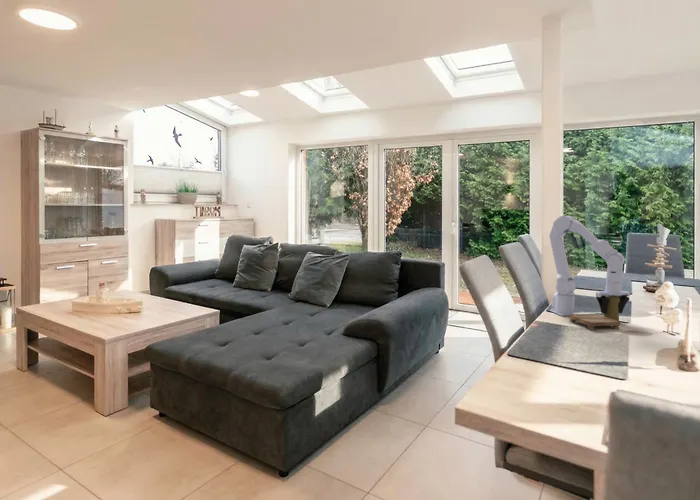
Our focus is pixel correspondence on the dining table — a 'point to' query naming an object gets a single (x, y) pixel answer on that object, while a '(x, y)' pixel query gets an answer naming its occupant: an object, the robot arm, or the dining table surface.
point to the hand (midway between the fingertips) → (611, 313)
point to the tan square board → (594, 320)
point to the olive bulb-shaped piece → (613, 308)
